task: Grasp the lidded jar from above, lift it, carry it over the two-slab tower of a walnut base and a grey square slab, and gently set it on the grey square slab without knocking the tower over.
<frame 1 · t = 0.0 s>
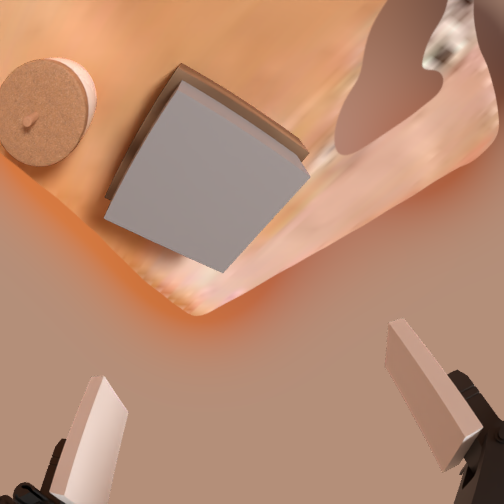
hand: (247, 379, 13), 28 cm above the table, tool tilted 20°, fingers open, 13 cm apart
lidded jar: (66, 95, 27), on the table
grey square slab: (202, 171, 31), point 4 cm above the table, touching tower base
tower base: (202, 153, 35), on the table, touching grey square slab
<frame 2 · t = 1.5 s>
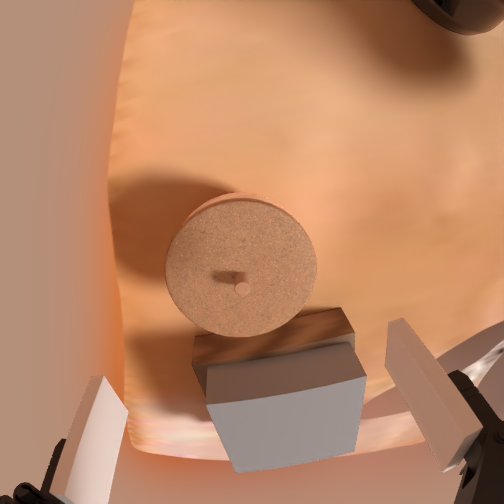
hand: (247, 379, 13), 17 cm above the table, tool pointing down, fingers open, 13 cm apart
lidded jar: (238, 237, 29), on the table
grey square slab: (285, 400, 32), point 4 cm above the table, touching tower base
tower base: (278, 371, 36), on the table, touching grey square slab
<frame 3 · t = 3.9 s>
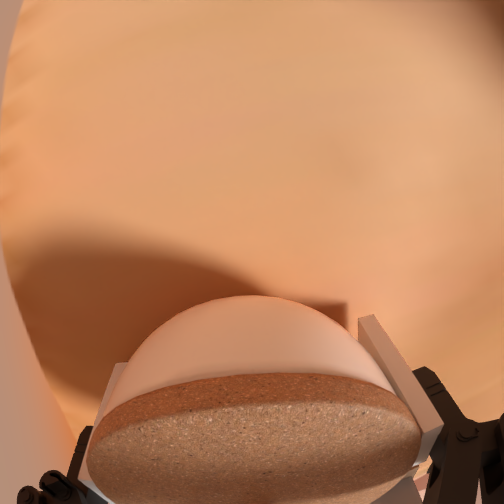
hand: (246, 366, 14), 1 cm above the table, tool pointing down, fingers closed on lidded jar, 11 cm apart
lidded jar: (244, 351, 15), on the table, touching gripper
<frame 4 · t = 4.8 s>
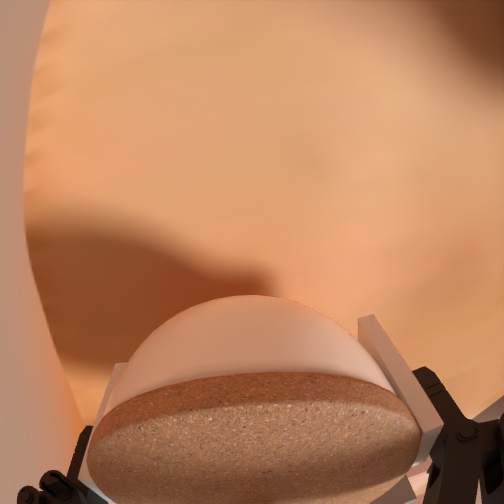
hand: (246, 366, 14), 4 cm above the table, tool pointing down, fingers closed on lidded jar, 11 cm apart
lidded jar: (244, 350, 15), point 3 cm above the table, touching gripper
grey square slab: (299, 502, 20), point 4 cm above the table, touching tower base
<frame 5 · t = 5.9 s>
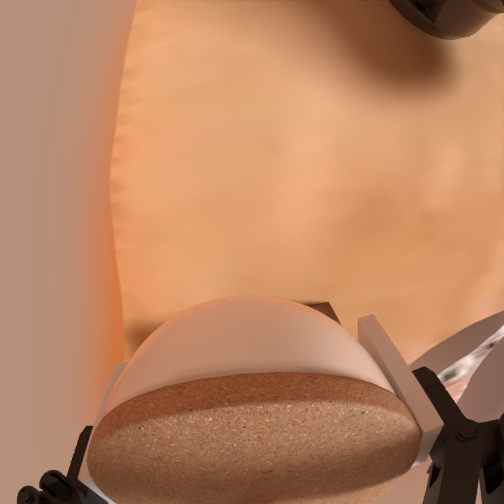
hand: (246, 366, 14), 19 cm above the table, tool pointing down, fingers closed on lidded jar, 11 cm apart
lidded jar: (244, 351, 15), point 17 cm above the table, touching gripper
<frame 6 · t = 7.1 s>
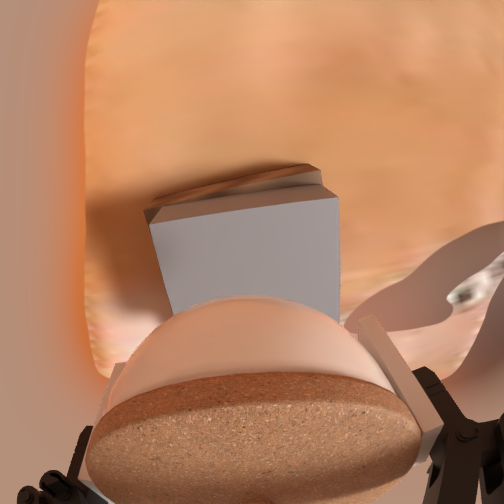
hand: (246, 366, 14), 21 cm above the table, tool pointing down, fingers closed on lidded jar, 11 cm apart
lidded jar: (244, 350, 15), point 19 cm above the table, touching gripper
grey square slab: (251, 266, 30), point 4 cm above the table, touching tower base
tower base: (247, 250, 34), on the table, touching grey square slab
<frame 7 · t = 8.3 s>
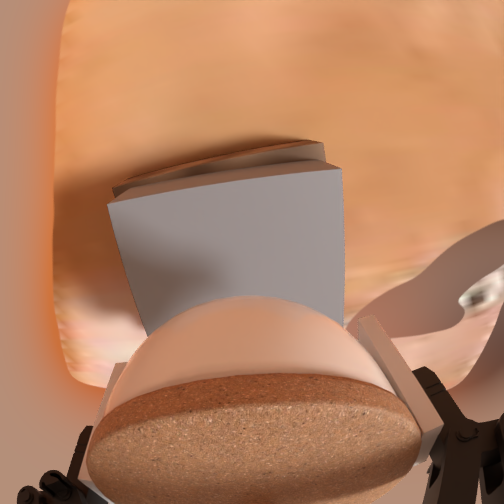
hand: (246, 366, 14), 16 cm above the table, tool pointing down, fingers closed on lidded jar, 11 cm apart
lidded jar: (244, 351, 15), point 15 cm above the table, touching gripper
grey square slab: (236, 260, 25), point 4 cm above the table, touching tower base
tower base: (235, 240, 29), on the table, touching grey square slab
when the fingers open (12 cm above the table, at t = 10.1 s): lidded jar drops 2 cm, resting on grey square slab.
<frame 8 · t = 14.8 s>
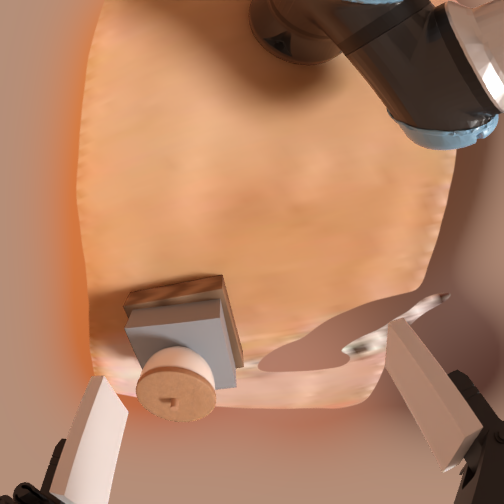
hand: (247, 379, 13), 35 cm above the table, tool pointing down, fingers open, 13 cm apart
lidded jar: (180, 360, 44), point 9 cm above the table, touching grey square slab
grey square slab: (185, 340, 49), point 4 cm above the table, touching tower base, lidded jar
tower base: (188, 322, 53), on the table, touching grey square slab
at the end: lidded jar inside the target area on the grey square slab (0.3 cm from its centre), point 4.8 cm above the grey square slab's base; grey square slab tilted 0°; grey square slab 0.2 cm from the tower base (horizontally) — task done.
